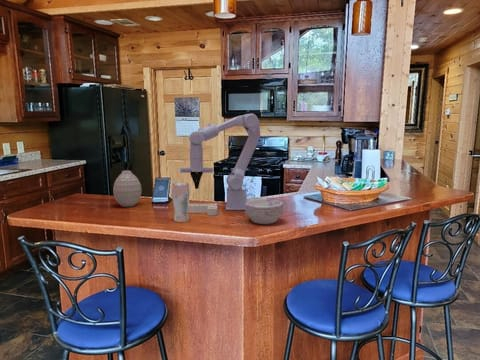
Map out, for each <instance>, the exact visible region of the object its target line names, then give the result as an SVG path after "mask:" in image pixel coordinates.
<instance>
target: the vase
mask: <svg viewBox="0 0 480 360" xmlns="http://www.w3.org/2000/svg"><path fill="white" fill-rule="evenodd" d="M112 189H113V191H112V192H113V197H114V198H115V201H116V202H117V204H119V205H120V207H124V208H131V207H134V206H136V205H137V204H138V202H139V201H140V200H141V195H142V184H141V182H140V180H139V178H138V177H137V175H135V174H134V173H132V171H131V170H122V171H121V173H120V174H119V175H118V177H116V179H115V181H114V183H113V188H112Z"/></svg>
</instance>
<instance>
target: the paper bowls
mask: <svg viewBox="0 0 480 360" xmlns="http://www.w3.org/2000/svg"><path fill="white" fill-rule="evenodd" d="M245 209H246V210H244V211H245V216H247V217H248V218H249V219H250V221H251V222H253V223H254V224H260V225H271V224H274V222H275V223H276V222H277V221H278V219H279V217H283V215H284V202H283V201H281V200H277V199H274V198H273V199H271V198H258V199H251V200H247V202H246V204H245ZM270 223H271V224H270Z"/></svg>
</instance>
